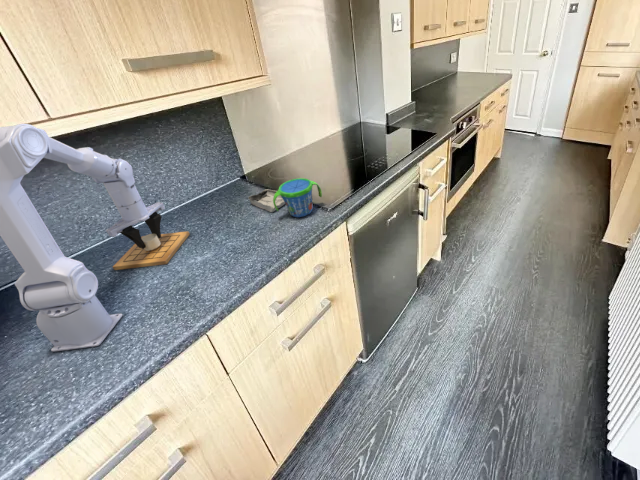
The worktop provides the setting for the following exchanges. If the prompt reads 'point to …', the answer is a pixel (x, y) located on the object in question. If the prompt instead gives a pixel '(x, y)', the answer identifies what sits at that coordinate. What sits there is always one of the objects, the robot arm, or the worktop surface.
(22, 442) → the worktop surface
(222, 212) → the worktop surface
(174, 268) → the worktop surface
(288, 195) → the snack cup
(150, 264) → the board
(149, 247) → the cream cylinder puck
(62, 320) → the robot arm
